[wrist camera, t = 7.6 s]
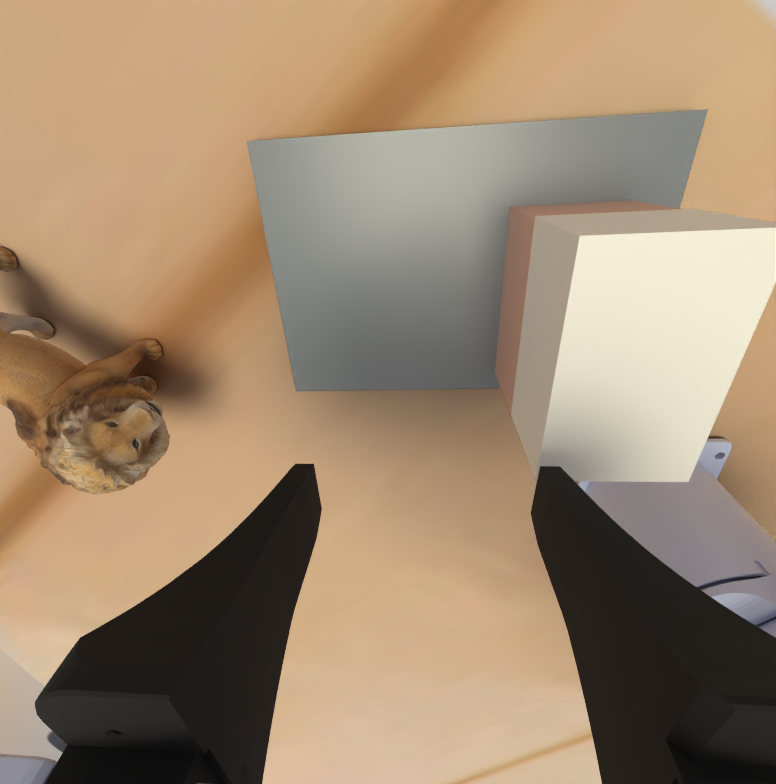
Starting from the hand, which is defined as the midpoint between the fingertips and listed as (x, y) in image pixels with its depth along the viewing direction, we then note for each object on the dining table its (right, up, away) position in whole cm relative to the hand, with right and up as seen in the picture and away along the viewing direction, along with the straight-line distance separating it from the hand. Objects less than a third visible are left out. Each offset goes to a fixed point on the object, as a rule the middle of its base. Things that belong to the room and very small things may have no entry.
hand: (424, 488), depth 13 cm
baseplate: (+2, +9, +7) cm, 11 cm away
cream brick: (+7, +6, +2) cm, 9 cm away
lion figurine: (-17, +7, +10) cm, 21 cm away
